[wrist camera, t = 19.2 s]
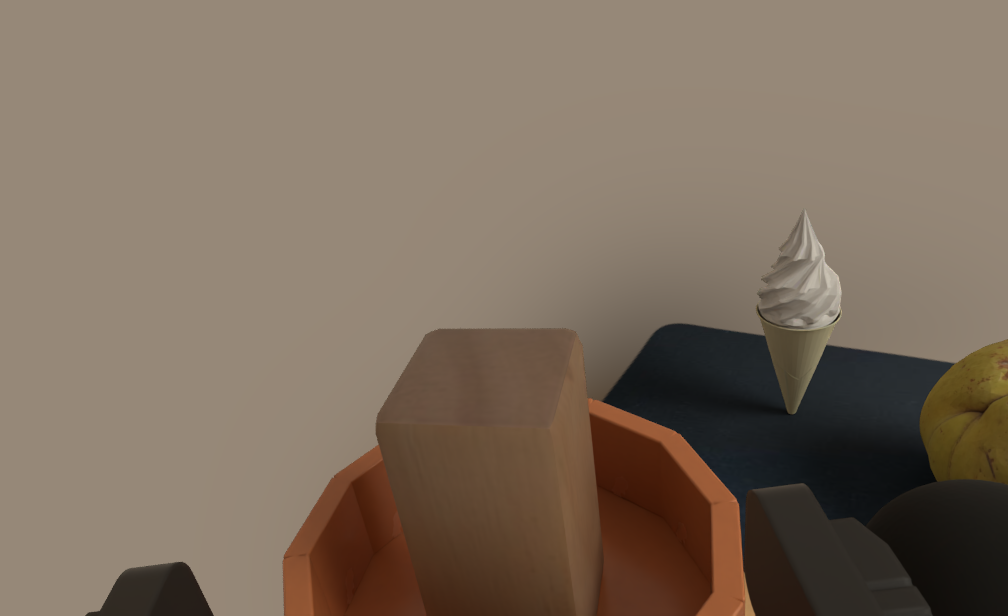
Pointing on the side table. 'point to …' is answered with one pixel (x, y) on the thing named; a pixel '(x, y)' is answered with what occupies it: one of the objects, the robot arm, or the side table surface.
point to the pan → (623, 519)
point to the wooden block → (496, 473)
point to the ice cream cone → (799, 310)
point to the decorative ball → (952, 544)
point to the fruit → (969, 418)
